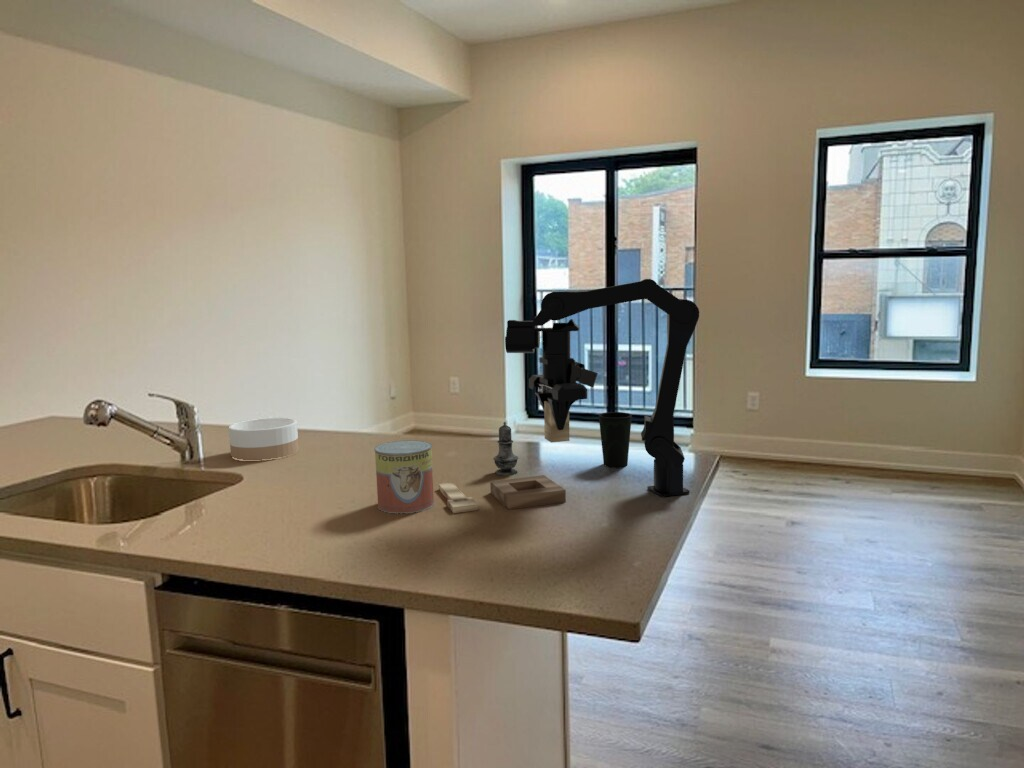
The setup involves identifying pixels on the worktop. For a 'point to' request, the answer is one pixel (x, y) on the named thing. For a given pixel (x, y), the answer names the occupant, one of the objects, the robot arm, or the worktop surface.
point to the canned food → (404, 476)
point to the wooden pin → (554, 426)
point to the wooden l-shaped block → (457, 499)
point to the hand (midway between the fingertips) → (556, 427)
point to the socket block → (527, 491)
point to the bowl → (263, 438)
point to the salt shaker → (505, 453)
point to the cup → (615, 438)
